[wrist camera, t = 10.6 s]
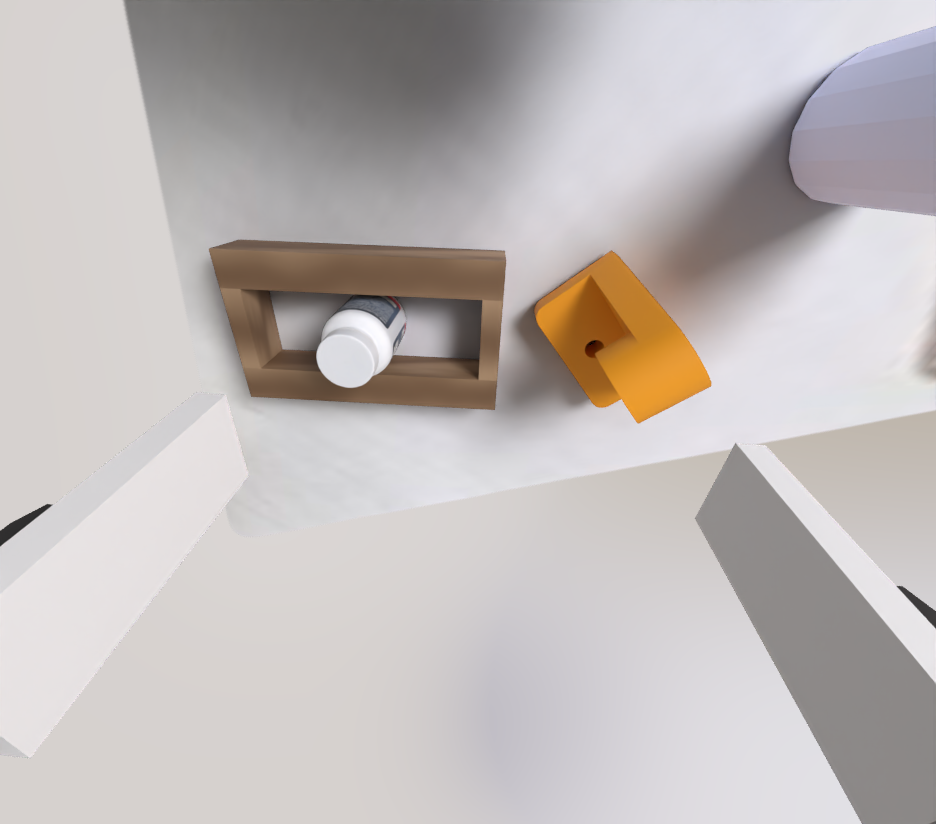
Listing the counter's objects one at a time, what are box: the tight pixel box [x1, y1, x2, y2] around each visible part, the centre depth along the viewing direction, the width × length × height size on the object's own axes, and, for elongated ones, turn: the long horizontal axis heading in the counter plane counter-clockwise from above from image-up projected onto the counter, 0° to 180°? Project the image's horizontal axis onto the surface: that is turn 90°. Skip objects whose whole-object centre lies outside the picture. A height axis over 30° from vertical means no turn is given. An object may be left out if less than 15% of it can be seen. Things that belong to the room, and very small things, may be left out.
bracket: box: [534, 251, 711, 423], centre depth 29 cm, size 11×7×12 cm, turn 37°
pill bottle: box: [316, 294, 406, 388], centre depth 31 cm, size 5×5×9 cm
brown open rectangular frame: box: [209, 240, 506, 410], centre depth 33 cm, size 12×21×4 cm, turn 88°
